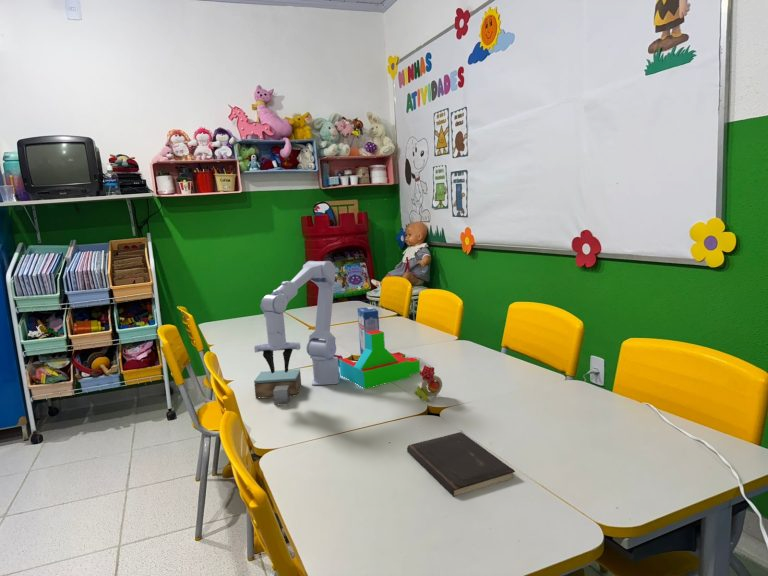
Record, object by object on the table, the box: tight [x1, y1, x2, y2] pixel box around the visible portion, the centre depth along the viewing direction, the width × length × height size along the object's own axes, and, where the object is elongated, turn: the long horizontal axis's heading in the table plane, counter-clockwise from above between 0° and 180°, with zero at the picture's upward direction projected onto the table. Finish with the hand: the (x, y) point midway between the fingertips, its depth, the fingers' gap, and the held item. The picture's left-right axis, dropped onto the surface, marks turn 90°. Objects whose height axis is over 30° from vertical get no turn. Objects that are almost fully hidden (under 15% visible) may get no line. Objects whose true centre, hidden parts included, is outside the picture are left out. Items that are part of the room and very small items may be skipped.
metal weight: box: [273, 385, 291, 406], centre depth 168 cm, size 4×4×5 cm
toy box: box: [253, 372, 302, 399], centre depth 179 cm, size 14×11×5 cm
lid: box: [253, 368, 301, 384], centre depth 178 cm, size 14×11×1 cm
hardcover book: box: [406, 431, 516, 497], centre depth 122 cm, size 16×23×2 cm
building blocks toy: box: [339, 329, 421, 389], centre depth 189 cm, size 19×25×18 cm
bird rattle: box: [413, 365, 443, 402], centre depth 164 cm, size 6×11×9 cm
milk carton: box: [357, 306, 380, 356], centre depth 214 cm, size 10×6×20 cm, turn 17°
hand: (279, 371), depth 167 cm, fingers open, 4 cm apart
